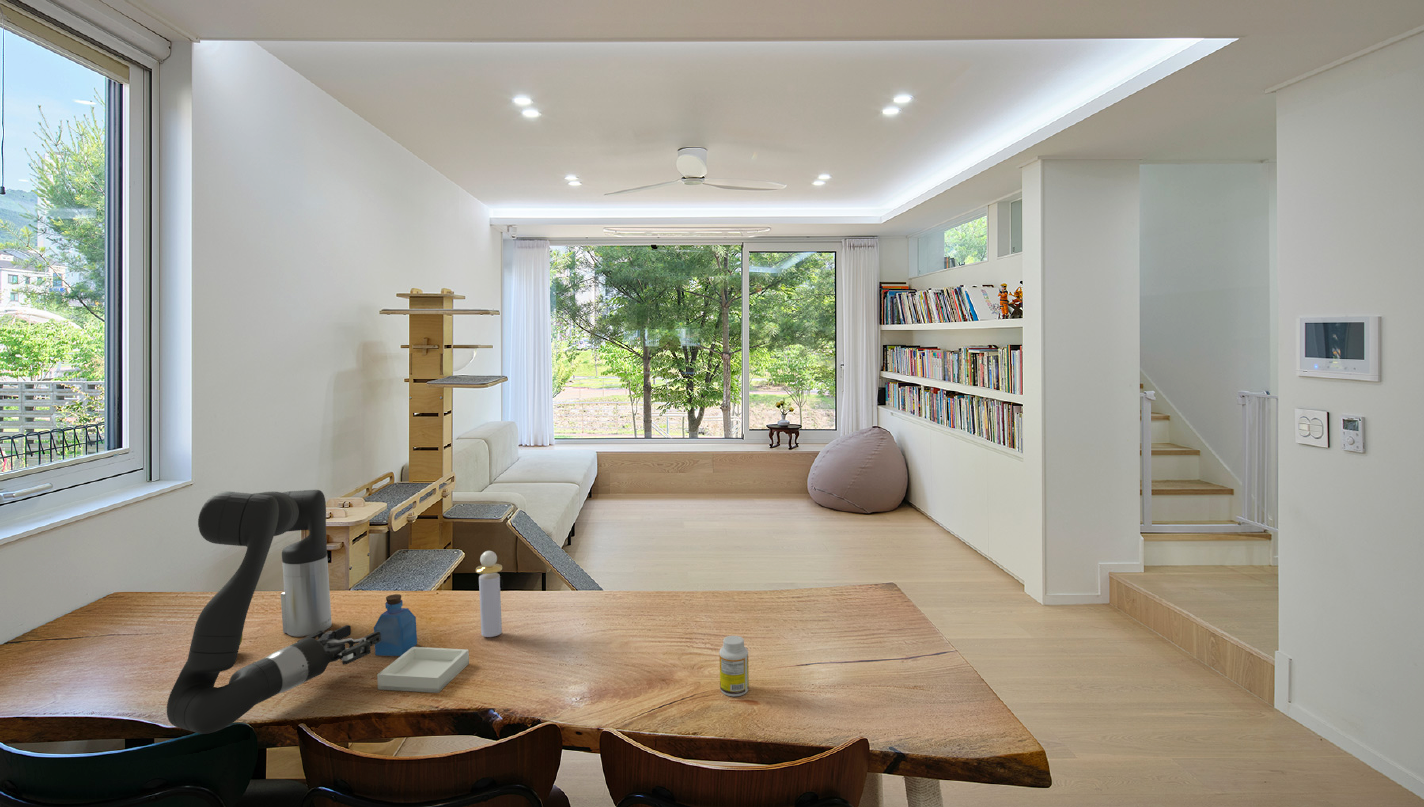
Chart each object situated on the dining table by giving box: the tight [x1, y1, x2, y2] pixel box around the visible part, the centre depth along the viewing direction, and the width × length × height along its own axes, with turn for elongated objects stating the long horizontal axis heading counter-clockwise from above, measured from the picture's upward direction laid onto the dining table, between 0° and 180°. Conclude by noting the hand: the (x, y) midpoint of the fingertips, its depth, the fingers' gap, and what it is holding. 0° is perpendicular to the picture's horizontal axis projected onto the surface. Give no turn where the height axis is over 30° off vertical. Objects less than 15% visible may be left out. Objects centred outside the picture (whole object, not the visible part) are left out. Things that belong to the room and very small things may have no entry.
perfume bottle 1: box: [373, 593, 418, 657], centre depth 157 cm, size 6×6×12 cm
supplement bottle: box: [718, 635, 750, 698], centre depth 137 cm, size 6×6×10 cm
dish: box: [376, 646, 470, 694], centre depth 145 cm, size 13×13×3 cm
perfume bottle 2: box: [475, 550, 504, 638], centre depth 163 cm, size 6×6×20 cm
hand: (364, 632), depth 149 cm, fingers open, 8 cm apart
